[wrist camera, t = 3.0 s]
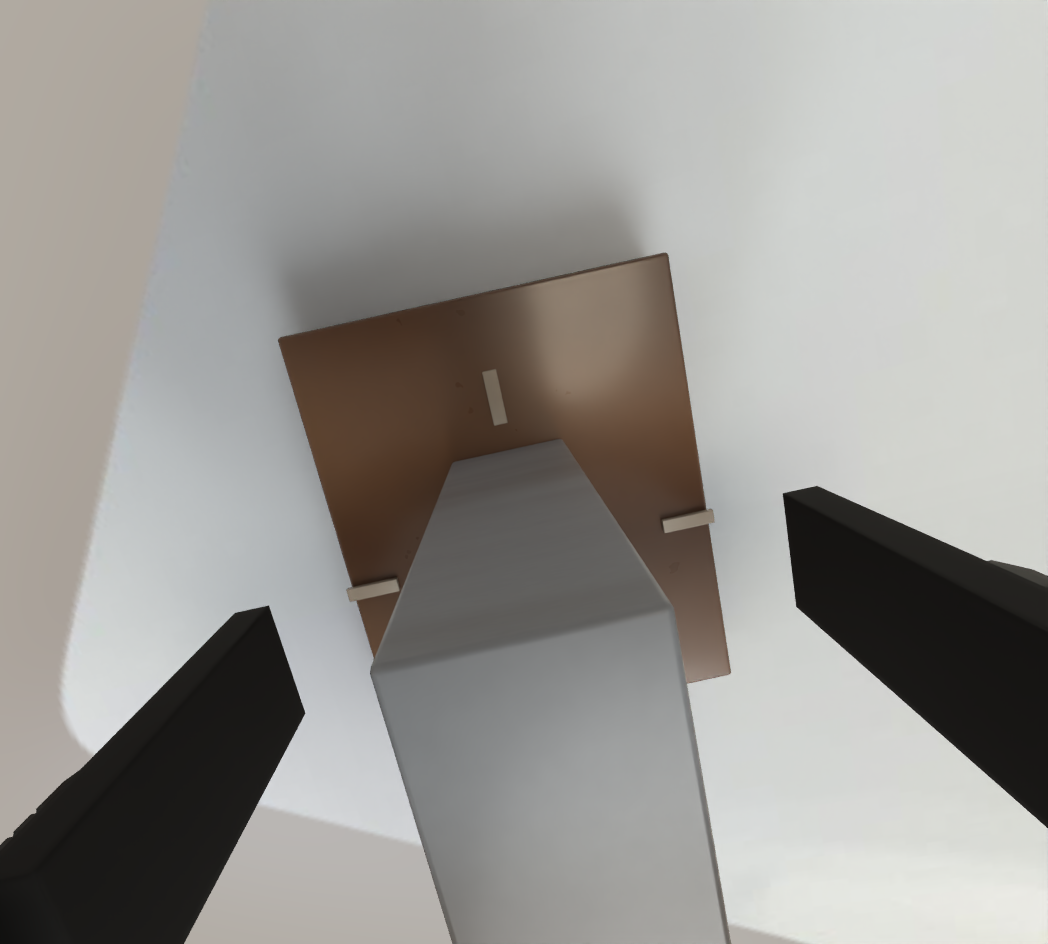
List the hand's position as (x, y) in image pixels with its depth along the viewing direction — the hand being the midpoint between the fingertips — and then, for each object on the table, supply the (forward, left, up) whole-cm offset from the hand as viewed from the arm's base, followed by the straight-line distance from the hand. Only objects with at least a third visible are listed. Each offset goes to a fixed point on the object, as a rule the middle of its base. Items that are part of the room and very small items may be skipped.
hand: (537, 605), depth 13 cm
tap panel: (-1, 0, -5) cm, 5 cm away
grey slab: (0, 0, -3) cm, 3 cm away
